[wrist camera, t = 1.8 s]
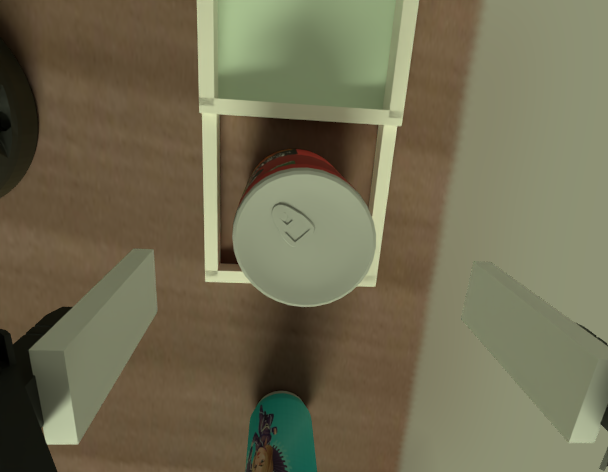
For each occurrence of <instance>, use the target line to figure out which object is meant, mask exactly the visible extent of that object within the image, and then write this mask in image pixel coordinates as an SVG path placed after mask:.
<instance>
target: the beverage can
mask: <svg viewBox="0 0 608 472" xmlns="http://www.w3.org/2000/svg"><path fill="white" fill-rule="evenodd" d="M245 472H317V467H316V458H315V448H314V439H313V430H312V421H311V416H310V413H309V411H308V409H307V408H306V406H305V405H304V403H303V402H302V400H301V399H300V398H299V397H298V396H297V395H295V394H293V393H291V392H288V391H275V392H272V393H269V394H267V395H266V396H264V397H263V398H262V399H261V400H260V401H259V403H258V404H257V406H256V408H255V410H254V411H253V413H252V415H251V418H250V425H249V436H248V448H247V459H246V471H245Z"/></svg>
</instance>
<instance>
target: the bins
mask: <svg viewBox="0 0 608 472" xmlns="http://www.w3.org/2000/svg"><path fill="white" fill-rule="evenodd" d="M418 4H419V0H197V30H198V76H199V113H202V136H203V188H204V239H205V282H231V283H251V282H250V281H249V280H248V279H247V278H246V277H245V275H244V273H243V271H242V270H241V268H240V266H239V265H238V264H220V114H223V115H238V116H253V117H269V118H284V119H299V120H315V121H330V122H345V123H361V124H376V125H379V126H378V134H377V142H376V150H375V159H374V167H373V175H372V183H371V192H370V200H369V208H368V209H369V212H370V214H371V216H372V219H373V221H374V226H375V231H376V249H375V254H374V259H373V262H372V264H371V266H370V268H369V271H368V273H367V274H366V275H365V277H364V278H363V280H362V281H361V283H360V284H358V285H357V286H369V287H375V286H376V279H377V271H378V264H379V256H380V249H381V242H382V234H383V227H384V220H385V212H386V205H387V198H388V190H389V183H390V176H391V168H392V161H393V153H394V146H395V139H396V131H397V126H402V119H403V112H404V105H405V98H406V90H407V83H408V76H409V69H410V62H411V55H412V47H413V40H414V33H415V26H416V19H417V12H418Z"/></svg>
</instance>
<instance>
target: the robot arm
mask: <svg viewBox="0 0 608 472" xmlns="http://www.w3.org/2000/svg"><path fill="white" fill-rule="evenodd" d="M37 136H38V121H37V112H36V107H35V102H34V98H33V95H32V91H31V89H30V86H29V83H28V81H27V79H26V76H25V74H24V72H23V70H22V68H21V67H20V65H19V63H18V61H17V60H16V58H15V57H14V55H13V54H12V52H11V51H10V49H9V48H8V47H7V45H6V44H5V43H4V42H3V40H2V39H1V38H0V198H1V197H3V196H4V195H6V194H7V193H8V192H10V191H11V190H12V189H13V188H14V187H15V186H16V185H17V184H18V183H19V182H20V181H21V179H22V178H23V177H24V175H25V174H26V172H27V170H28V168H29V166H30V164H31V162H32V159H33V156H34V153H35V149H36V144H37ZM156 313H157V297H156V281H155V265H154V249H133V250H132V251H131V252H130V253H128V254H127V255H126V256H125V257H124V258H123V259H122V260H121V261H120V262H119V263H118V264H117V265H116V266H115V267H114V268H113V269H112V270H111V271H110V272H109V273H108V274H107V275H106V276H105V277H104V278H103V279H102V280H101V281H100V282H98V283H97V284H96V285H95V286H94V287H93V288H92V289H91V290H90V291H89V292H88V293H87V294H86V295H85V296H84V297H83V298H82V299H81V300H80V301H79V302H78V303H77V304H76V305H75V306H74V307H61V308H59V309H57V310H55V311H53V312H51V313H49V314H47V315H46V316H45V317H43V318H42V319H41V320H40V321H39V322H38V323H37V324H36V325H35V327H32V328H31V329H30V330H29V331H28V332H27V333H26V335H23V336H22V337H21V338H20V339H19V340H18V341H17V342H15V343H14V344H12V339H11V334H10V333H9V332H8V331H6V330H3V329H0V472H57V469H56V467H55V464H54V462H53V459H52V456H51V454H50V451H49V448H48V446H47V444H79V442H80V440H81V439H82V437H83V435H84V434H85V432H86V430H87V429H88V427H89V425H90V424H91V422H92V420H93V419H94V417H95V415H96V414H97V412H98V410H99V409H100V407H101V405H102V404H103V402H104V400H105V399H106V397H107V395H108V393H109V392H110V390H111V388H112V387H113V385H114V383H115V382H116V380H117V378H118V377H119V375H120V373H121V372H122V370H123V368H124V367H125V365H126V363H127V362H128V360H129V358H130V357H131V355H132V353H133V352H134V350H135V348H136V347H137V345H138V343H139V342H140V340H141V338H142V336H143V335H144V333H145V331H146V330H147V328H148V326H149V325H150V323H151V321H152V320H153V318H154V316H155V315H156ZM461 320H462V321H463V322H464V323H465V324H466V325H467V326H468V328H469V329H470V330H471V331H472V332H473V333H474V335H475V336H476V337H477V338H478V339H479V340H480V341H481V343H482V344H483V345H484V346H485V347H486V348H487V349H488V351H489V352H490V353H491V354H492V355H493V356H494V358H495V359H496V360H497V361H498V362H499V363H500V364H501V366H502V367H503V368H504V369H505V370H506V371H507V373H508V374H509V375H510V376H511V377H512V378H513V379H514V381H515V382H516V383H517V384H518V385H519V386H520V387H521V388H522V390H523V391H524V392H525V393H526V394H527V395H528V397H529V398H530V399H531V400H532V401H533V402H534V404H535V405H536V406H537V407H538V408H539V409H540V411H541V412H542V413H543V414H544V415H545V416H546V418H547V419H548V420H549V421H550V422H551V423H552V424H553V425H554V427H555V428H556V429H557V430H558V431H559V432H560V434H561V435H562V436H563V437H564V438H565V439H566V441H567V442H568V443H594V442H595V439H596V437H597V434H598V432H599V429H600V427H601V425H602V426H603V427H604V428H605V429H606V430H607V431H608V345H607V343H606V342H604V341H603V340H602V339H600V338H598V337H596V335H594V334H593V333H592V332H590V331H589V330H588V329H586V328H585V327H583V326H581V325H579V324H577V323H575V322H573V321H572V320H570V319H569V318H568V317H566V316H565V315H563V314H562V313H561V312H559V311H558V310H557V309H555V308H554V307H553V306H551V305H550V304H548V303H547V302H546V301H544V300H543V299H542V298H540V297H539V296H537V295H536V294H535V293H533V292H532V291H530V290H529V289H528V288H526V287H525V286H524V285H522V284H521V283H519V282H518V281H517V280H515V279H513V278H512V277H511V276H510V275H508V274H507V273H505V272H504V271H503V270H501V269H500V268H499V267H497V266H496V265H494V264H493V263H492V262H475V261H474V262H473V267H472V271H471V275H470V280H469V285H468V289H467V294H466V298H465V303H464V307H463V312H462V316H461ZM42 426H43V430H44V435H45V438H44V435H43V433H42V430H41V428H42ZM606 466H608V448H607V451H606V453H605V455H604V458H603V460H602V463H601V465H600V468H599V469H601V470H605V468H606Z"/></svg>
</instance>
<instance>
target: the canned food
mask: <svg viewBox="0 0 608 472" xmlns="http://www.w3.org/2000/svg"><path fill="white" fill-rule="evenodd" d="M232 235H233V246H234V253H235V256H236V259H237V262H238V265H239V266H240V268H241V270H242V271H243V273H244V275H245V277H246V278H247V279H248V280H249V281H250V282H251V283H252V285H253V286H254V287H255V288H257V289H258V290H259V291H261V292H262V293H263V294H264V295H266V296H268V297H270V298H272V299H274V300H276V301H278V302H281V303H284V304H287V305H292V306H299V307H313V306H320V305H324V304H329V303H331V302H333V301H336V300H338V299H341V298H342V297H344V296H345V295H347V294H348V293H350V292H351V291H352V290H353V289H354V288H355V287H356V286H357V285H358V284H360V283H361V281H362V280H363V278H364V277H365V275H366V274H367V273H368V271H369V268H370V266H371V264H372V262H373V259H374V254H375V249H376V231H375V226H374V221H373V219H372V216H371V214H370V212H369V209H368V207H367V205H366V203H365V202H364V200H363V199H362V197H361V196H360V194H359V193H358V192H357V191H356V190H355V188H354V187H353V186H352V185H351V184H350V183H349V182H348V181H347V180H346V179H345V178H344V177H343V176H342V175H341V174H340V173H339V172H338V171H337V170H336V169H335V168H334V167H333V166H332V165H331V164H330V163H329V162H328V161H327V160H325V159H324V158H322V157H321V156H319V155H318V154H315V153H313V152H310V151H307V150H302V149H286V150H282V151H278V152H276V153H273V154H271V155H269V156H268V157H266V158H265V159H264V160H262V161H261V162H260V163H259V164H258V166H257V167H256V168H255V169H254V171H253V173H252V174H251V176H250V178H249V181H248V183H247V186H246V188H245V190H244V193H243V195H242V198H241V200H240V202H239V205H238V209H237V212H236V215H235V219H234V223H233V234H232Z"/></svg>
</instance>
